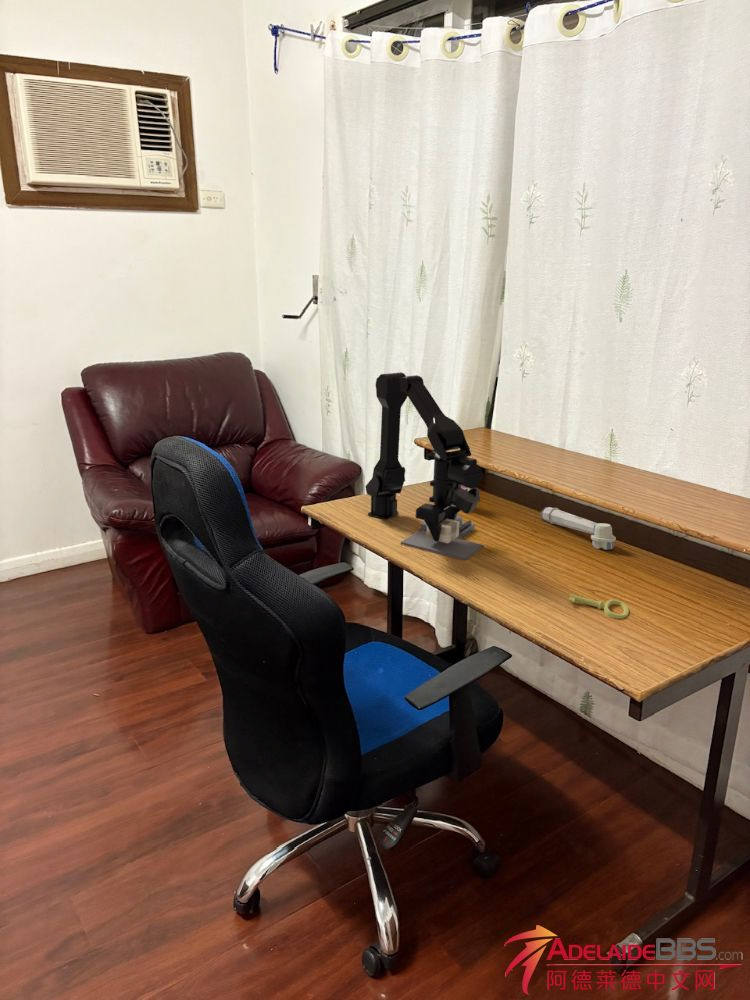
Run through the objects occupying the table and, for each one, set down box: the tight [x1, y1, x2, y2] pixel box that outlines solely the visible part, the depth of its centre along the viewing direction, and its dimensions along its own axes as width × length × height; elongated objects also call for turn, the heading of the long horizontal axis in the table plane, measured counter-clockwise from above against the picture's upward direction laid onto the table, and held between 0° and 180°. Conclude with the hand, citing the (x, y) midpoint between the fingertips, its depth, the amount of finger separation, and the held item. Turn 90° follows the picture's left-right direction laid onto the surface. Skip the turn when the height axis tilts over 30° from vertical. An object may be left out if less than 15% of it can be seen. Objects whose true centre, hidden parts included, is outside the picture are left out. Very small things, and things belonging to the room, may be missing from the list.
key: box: [568, 593, 630, 620], centre depth 151 cm, size 7×12×2 cm, turn 84°
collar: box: [425, 518, 459, 543], centre depth 181 cm, size 6×6×4 cm
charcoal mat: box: [400, 529, 484, 561], centre depth 182 cm, size 18×10×1 cm, turn 58°
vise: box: [419, 514, 476, 540], centre depth 192 cm, size 12×8×8 cm, turn 58°
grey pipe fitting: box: [540, 506, 617, 550], centre depth 191 cm, size 5×7×25 cm
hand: (442, 537), depth 181 cm, fingers closed on collar, 6 cm apart
